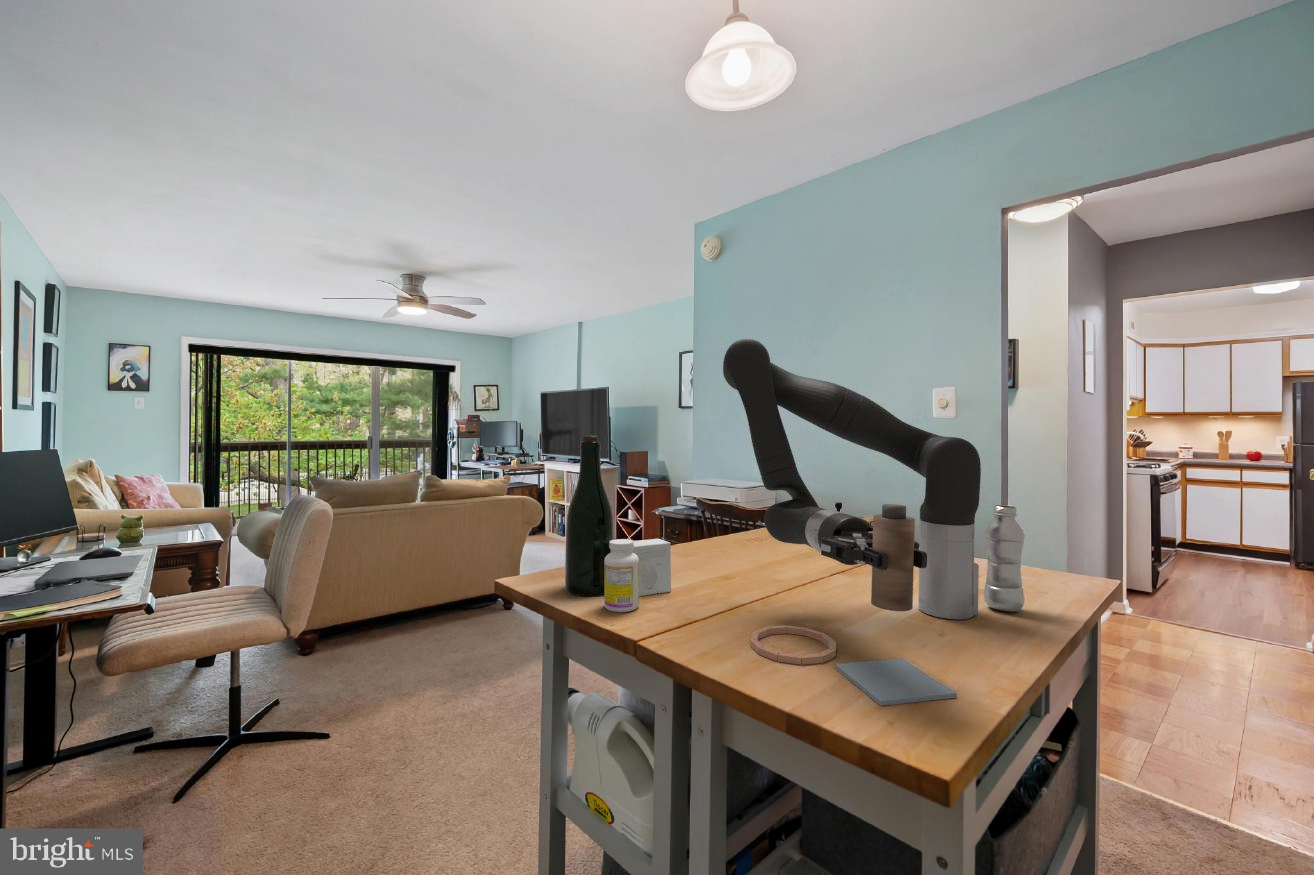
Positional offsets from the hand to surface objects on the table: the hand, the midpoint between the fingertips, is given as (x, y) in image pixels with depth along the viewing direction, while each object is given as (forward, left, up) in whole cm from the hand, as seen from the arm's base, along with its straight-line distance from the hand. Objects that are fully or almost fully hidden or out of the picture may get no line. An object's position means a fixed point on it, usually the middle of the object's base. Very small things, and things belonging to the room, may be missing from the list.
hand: (904, 561), depth 73 cm
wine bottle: (+37, -53, -17) cm, 67 cm away
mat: (0, -2, -17) cm, 17 cm away
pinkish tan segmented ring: (+8, -16, -17) cm, 25 cm away
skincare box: (+26, -50, -17) cm, 59 cm away
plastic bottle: (-40, -25, -17) cm, 51 cm away
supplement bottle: (+32, -40, -17) cm, 54 cm away
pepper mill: (0, -3, -7) cm, 7 cm away
